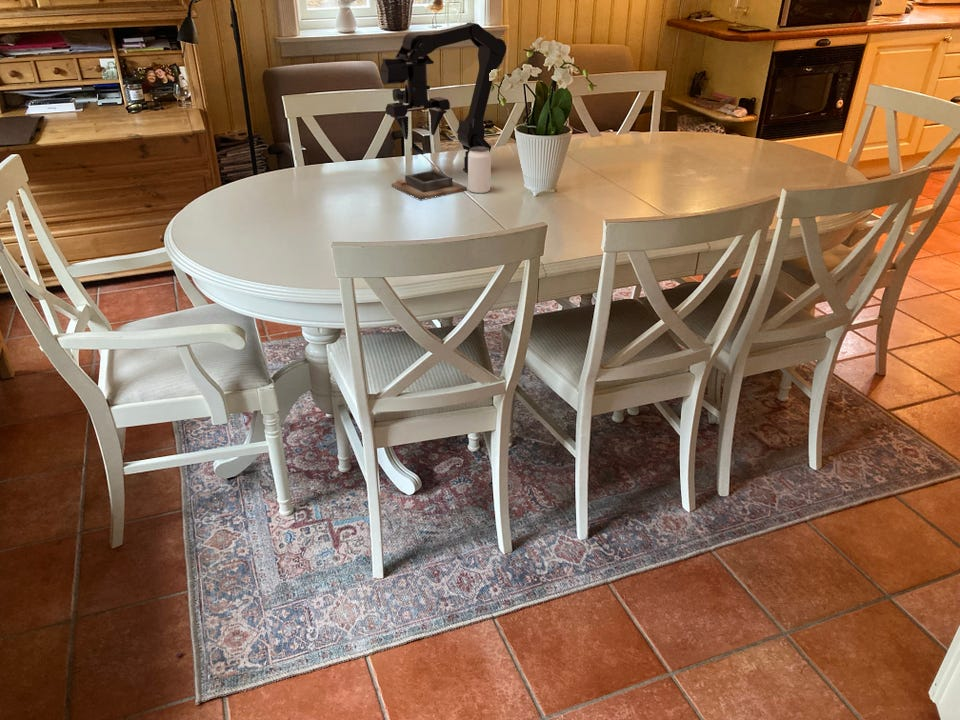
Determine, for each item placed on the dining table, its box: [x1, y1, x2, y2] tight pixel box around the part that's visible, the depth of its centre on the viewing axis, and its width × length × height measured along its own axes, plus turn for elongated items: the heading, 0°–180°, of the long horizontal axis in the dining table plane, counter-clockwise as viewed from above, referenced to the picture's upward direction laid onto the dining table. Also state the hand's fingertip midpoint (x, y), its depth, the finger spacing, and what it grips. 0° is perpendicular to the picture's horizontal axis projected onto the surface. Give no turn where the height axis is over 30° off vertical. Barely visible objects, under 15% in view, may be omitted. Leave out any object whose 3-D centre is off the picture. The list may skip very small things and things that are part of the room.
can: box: [467, 147, 492, 194], centre depth 216 cm, size 6×6×12 cm
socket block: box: [391, 169, 468, 200], centre depth 220 cm, size 16×16×4 cm
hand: (419, 136), depth 222 cm, fingers open, 9 cm apart
